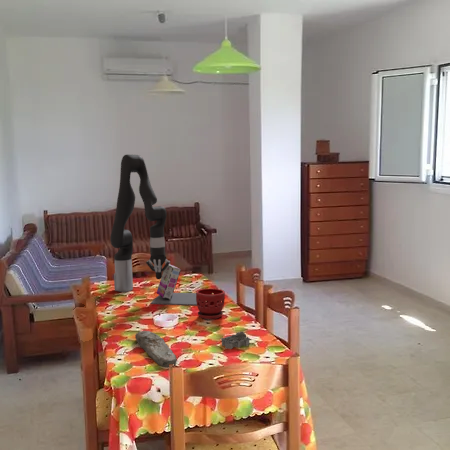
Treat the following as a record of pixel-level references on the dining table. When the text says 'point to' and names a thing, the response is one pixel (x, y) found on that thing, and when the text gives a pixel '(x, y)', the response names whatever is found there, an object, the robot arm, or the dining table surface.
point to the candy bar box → (168, 282)
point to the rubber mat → (177, 299)
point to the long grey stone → (156, 348)
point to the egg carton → (235, 340)
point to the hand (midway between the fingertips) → (159, 278)
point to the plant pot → (210, 303)
